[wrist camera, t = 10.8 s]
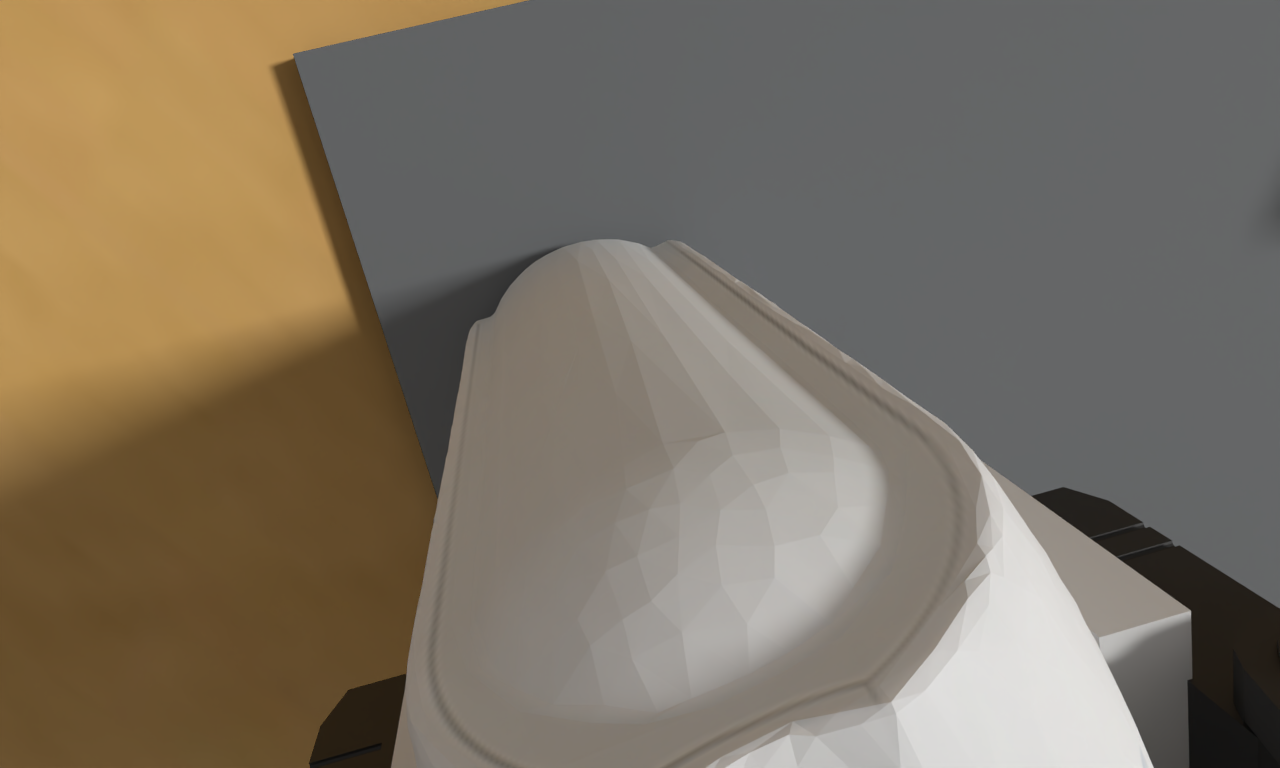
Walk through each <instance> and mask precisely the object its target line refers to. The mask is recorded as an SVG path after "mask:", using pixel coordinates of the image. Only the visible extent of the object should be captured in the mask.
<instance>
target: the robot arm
mask: <svg viewBox="0 0 1280 768" xmlns="http://www.w3.org/2000/svg"><path fill="white" fill-rule="evenodd" d="M981 462H982V463H983V464H984V466H985V467H986V468H987V469H988V471H989V472H990V473H991V475H992V476H993V477H994V479H995V480H996V481H997V483H998V484H999V485H1000V487H1001V488H1002V490H1003V491H1004V493H1005V494H1006V496H1007V497H1008V498H1009V500H1010V501H1011V503H1012V504H1013V506H1014V507H1015V509H1016V510H1017V511H1018V513H1019V514H1020V516H1021V517H1022V519H1023V520H1024V522H1025V523H1026V525H1027V527H1028V528H1029V529H1030V531H1031V532H1032V534H1033V535H1034V536H1035V538H1036V539H1037V541H1038V542H1039V544H1040V545H1041V546H1042V548H1043V549H1044V551H1045V552H1046V554H1047V555H1048V557H1049V559H1050V561H1051V563H1052V564H1053V566H1054V568H1055V570H1056V572H1057V573H1058V575H1059V577H1060V579H1061V580H1062V582H1063V583H1064V585H1065V587H1066V588H1067V590H1068V591H1069V593H1070V594H1071V596H1072V597H1073V599H1074V600H1075V602H1076V604H1077V606H1078V608H1079V610H1080V612H1081V614H1082V616H1083V619H1084V621H1085V623H1086V625H1087V626H1088V628H1089V630H1090V632H1091V633H1092V635H1093V637H1094V638H1095V640H1096V642H1097V644H1098V646H1099V649H1100V651H1101V653H1102V655H1103V657H1104V659H1105V661H1106V663H1107V665H1108V667H1109V669H1110V671H1111V673H1112V675H1113V677H1114V679H1115V681H1116V684H1117V686H1118V688H1119V690H1120V692H1121V694H1122V696H1123V698H1124V700H1125V702H1126V705H1127V707H1128V709H1129V711H1130V713H1131V715H1132V718H1133V720H1134V722H1135V724H1136V727H1137V729H1138V731H1139V734H1140V736H1141V739H1142V741H1143V743H1144V746H1145V748H1146V751H1147V753H1148V755H1149V758H1150V760H1151V762H1152V765H1153V767H1154V768H1280V608H1278V607H1277V606H1275V605H1273V604H1272V603H1270V602H1269V601H1267V600H1265V599H1264V598H1262V597H1261V596H1259V595H1258V594H1256V593H1254V592H1253V591H1251V590H1250V589H1248V588H1246V587H1245V586H1243V585H1242V584H1240V583H1239V582H1237V581H1235V580H1234V579H1232V578H1231V577H1229V576H1227V575H1226V574H1224V573H1223V572H1221V571H1220V570H1218V569H1216V568H1215V567H1213V566H1212V565H1210V564H1208V563H1207V562H1205V561H1204V560H1202V559H1201V558H1199V557H1197V556H1196V555H1194V554H1193V553H1191V552H1189V551H1188V550H1186V549H1185V548H1183V547H1182V546H1180V545H1179V546H1176V547H1175V546H1174V545H1173V542H1172V540H1170V539H1169V538H1167V537H1166V536H1164V535H1163V534H1161V533H1159V532H1158V531H1156V530H1155V529H1153V528H1151V527H1147V528H1145V526H1144V524H1143V522H1142V521H1140V520H1139V519H1137V518H1136V517H1134V516H1132V515H1131V514H1129V513H1128V512H1126V511H1125V510H1123V509H1121V508H1120V507H1118V506H1117V505H1115V504H1113V503H1112V502H1110V501H1108V500H1105V499H1102V498H1098V497H1095V496H1092V495H1089V494H1085V493H1082V492H1079V491H1075V490H1072V489H1069V488H1065V487H1061V488H1058V489H1054V490H1051V491H1047V492H1043V493H1040V494H1036V495H1033V496H1030V495H1029V494H1027V493H1026V492H1025V491H1023V490H1022V489H1020V488H1019V487H1018V486H1016V485H1015V484H1013V483H1012V482H1011V481H1009V480H1008V479H1006V478H1005V477H1004V476H1002V475H1001V474H999V473H998V472H997V471H995V470H994V469H992V468H991V467H990V466H988V465H987V464H985V463H984V462H983V461H981ZM405 685H406V674H404V675H400V676H397V677H393V678H389V679H386V680H382V681H379V682H375V683H372V684H368V685H364V686H361V687H357V688H354V689H350V690H348V691H347V693H346V694H345V695H344V697H343V698H342V699H341V700H340V702H339V703H338V704H337V706H336V707H335V708H334V710H333V711H332V712H331V713H330V715H329V716H328V717H327V719H326V720H325V721H324V722H323V724H322V725H321V726H320V730H319V733H318V736H317V739H316V743H315V746H314V749H313V752H312V756H311V759H310V762H309V764H310V768H417V765H416V760H415V754H414V750H413V746H412V742H411V738H410V734H409V730H408V725H407V709H406V693H405Z"/></svg>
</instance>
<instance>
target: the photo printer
mask: <svg viewBox="0 0 1280 768" xmlns="http://www.w3.org/2000/svg"><path fill="white" fill-rule="evenodd" d="M405 693H406V709H407V725H408V730H409V734H410V738H411V742H412V746H413V750H414V754H415V760H416V765H417V768H1154V767H1153V765H1152V762H1151V760H1150V758H1149V755H1148V753H1147V751H1146V748H1145V746H1144V743H1143V741H1142V739H1141V736H1140V734H1139V731H1138V729H1137V727H1136V724H1135V722H1134V720H1133V718H1132V715H1131V713H1130V711H1129V709H1128V707H1127V705H1126V702H1125V700H1124V698H1123V696H1122V694H1121V692H1120V690H1119V688H1118V686H1117V684H1116V681H1115V679H1114V677H1113V675H1112V673H1111V671H1110V669H1109V667H1108V665H1107V663H1106V661H1105V659H1104V657H1103V655H1102V653H1101V651H1100V649H1099V646H1098V644H1097V642H1096V640H1095V638H1094V637H1093V635H1092V633H1091V632H1090V630H1089V628H1088V626H1087V625H1086V623H1085V621H1084V619H1083V616H1082V614H1081V612H1080V610H1079V608H1078V606H1077V604H1076V602H1075V600H1074V599H1073V597H1072V596H1071V594H1070V593H1069V591H1068V590H1067V588H1066V587H1065V585H1064V583H1063V582H1062V580H1061V579H1060V577H1059V575H1058V573H1057V572H1056V570H1055V568H1054V566H1053V564H1052V563H1051V561H1050V559H1049V557H1048V555H1047V554H1046V552H1045V551H1044V549H1043V548H1042V546H1041V545H1040V544H1039V542H1038V541H1037V539H1036V538H1035V536H1034V535H1033V534H1032V532H1031V531H1030V529H1029V528H1028V527H1027V525H1026V523H1025V522H1024V520H1023V519H1022V517H1021V516H1020V514H1019V513H1018V511H1017V510H1016V509H1015V507H1014V506H1013V504H1012V503H1011V501H1010V500H1009V498H1008V497H1007V496H1006V494H1005V493H1004V491H1003V490H1002V488H1001V487H1000V485H999V484H998V483H997V481H996V480H995V479H994V477H993V476H992V475H991V473H990V472H989V471H988V469H987V468H986V467H985V466H984V464H983V463H982V462H981V460H980V459H979V458H978V457H977V455H976V454H975V453H974V451H973V450H972V449H971V448H970V447H969V446H968V445H967V444H966V443H965V442H964V441H963V440H962V439H961V438H960V437H959V436H958V435H957V434H956V433H955V432H954V431H953V430H952V429H951V428H949V427H948V426H947V425H946V424H945V423H944V422H943V421H941V420H940V419H938V418H937V417H935V416H934V415H932V414H931V413H929V412H928V411H926V410H925V409H924V408H922V407H921V406H919V405H918V404H916V403H915V402H913V401H912V400H910V399H909V398H907V397H906V396H905V395H903V394H902V393H900V392H899V391H898V390H896V389H895V388H894V387H892V386H891V385H889V384H888V383H887V382H885V381H884V380H883V379H881V378H880V377H878V376H877V375H875V374H874V373H873V372H871V371H870V370H868V369H867V368H865V367H864V366H863V365H861V364H860V363H858V362H857V361H855V360H854V359H853V358H851V357H849V356H848V355H846V354H845V353H843V352H842V351H840V350H838V349H837V348H836V347H834V346H833V345H832V344H830V343H829V342H828V341H826V340H825V339H824V338H822V337H821V336H819V335H818V334H816V333H815V332H813V331H812V330H811V329H809V328H808V327H806V326H805V325H803V324H802V323H800V322H799V321H798V320H796V319H795V318H793V317H792V316H791V315H789V314H788V313H786V312H785V311H783V310H782V309H780V308H779V307H778V306H777V305H776V304H774V303H773V302H771V301H769V300H768V299H766V298H765V297H764V296H762V295H761V294H760V293H758V292H756V291H755V290H753V289H751V288H750V287H749V286H748V285H746V284H744V283H743V282H741V281H739V280H738V279H736V278H735V277H733V276H732V275H731V274H729V273H728V272H726V271H725V270H723V269H722V268H720V267H719V266H718V265H716V264H715V263H713V262H712V261H711V260H709V259H707V258H706V257H705V256H703V255H701V254H700V253H698V252H696V251H695V250H693V249H692V248H690V247H689V246H687V245H686V244H684V243H682V242H680V241H674V240H667V241H665V242H663V243H661V244H659V245H657V246H655V247H652V248H650V247H647V246H644V245H642V244H639V243H635V242H629V241H624V240H619V239H599V240H590V241H583V242H579V243H575V244H572V245H568V246H565V247H562V248H560V249H557V250H555V251H553V252H551V253H549V254H547V255H545V256H544V257H542V258H540V259H539V260H537V261H535V262H534V263H533V264H531V265H530V266H529V267H528V268H526V269H525V270H524V271H523V272H522V273H521V274H520V275H519V276H518V277H517V278H516V280H515V281H514V282H513V283H512V284H511V285H510V286H509V288H508V289H507V291H506V292H505V294H504V295H503V297H502V298H501V300H500V303H499V305H498V307H497V309H496V311H495V313H494V314H493V315H492V316H491V317H488V318H485V319H481V320H478V321H476V322H475V323H474V325H473V326H472V327H471V329H470V331H469V334H468V339H467V342H466V347H465V353H464V361H463V369H462V373H461V381H460V386H459V391H458V396H457V401H456V406H455V412H454V419H453V425H452V428H451V435H450V440H449V447H448V453H447V456H446V461H445V467H444V472H443V476H442V481H441V487H440V492H439V497H438V502H437V508H436V513H435V517H434V523H433V528H432V532H431V537H430V543H429V549H428V555H427V560H426V566H425V571H424V577H423V584H422V588H421V593H420V597H419V602H418V606H417V611H416V616H415V622H414V627H413V633H412V639H411V645H410V651H409V657H408V663H407V674H406V685H405Z"/></svg>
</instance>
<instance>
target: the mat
mask: <svg viewBox="0 0 1280 768" xmlns="http://www.w3.org/2000/svg"><path fill="white" fill-rule="evenodd" d="M293 56H294V59H295V62H296V65H297V68H298V71H299V74H300V77H301V80H302V83H303V87H304V90H305V93H306V96H307V99H308V102H309V105H310V108H311V111H312V114H313V117H314V120H315V123H316V126H317V130H318V133H319V136H320V139H321V142H322V145H323V148H324V151H325V154H326V157H327V160H328V163H329V166H330V170H331V173H332V176H333V179H334V182H335V185H336V188H337V191H338V194H339V197H340V200H341V203H342V206H343V209H344V213H345V216H346V219H347V222H348V225H349V228H350V231H351V234H352V237H353V240H354V243H355V246H356V249H357V252H358V256H359V259H360V262H361V265H362V268H363V271H364V274H365V277H366V280H367V283H368V286H369V289H370V292H371V296H372V299H373V302H374V305H375V308H376V311H377V314H378V317H379V320H380V323H381V326H382V329H383V332H384V335H385V339H386V342H387V345H388V348H389V351H390V354H391V357H392V360H393V363H394V366H395V369H396V372H397V375H398V379H399V382H400V385H401V388H402V391H403V394H404V397H405V400H406V403H407V406H408V409H409V412H410V415H411V418H412V422H413V425H414V428H415V431H416V434H417V437H418V440H419V443H420V446H421V449H422V452H423V455H424V458H425V461H426V465H427V468H428V471H429V474H430V477H431V480H432V483H433V486H434V489H435V492H436V495H437V498H438V497H439V492H440V487H441V481H442V476H443V472H444V467H445V461H446V456H447V453H448V447H449V440H450V435H451V428H452V425H453V419H454V412H455V406H456V401H457V396H458V391H459V386H460V381H461V373H462V369H463V361H464V353H465V347H466V342H467V339H468V334H469V331H470V329H471V327H472V326H473V325H474V323H475V322H476V321H478V320H481V319H485V318H488V317H491V316H492V315H493V314H494V313H495V311H496V309H497V307H498V305H499V303H500V300H501V298H502V297H503V295H504V294H505V292H506V291H507V289H508V288H509V286H510V285H511V284H512V283H513V282H514V281H515V280H516V278H517V277H518V276H519V275H520V274H521V273H522V272H523V271H524V270H525V269H526V268H528V267H529V266H530V265H531V264H533V263H534V262H535V261H537V260H539V259H540V258H542V257H544V256H545V255H547V254H549V253H551V252H553V251H555V250H557V249H560V248H562V247H565V246H568V245H572V244H575V243H579V242H583V241H590V240H599V239H619V240H624V241H629V242H635V243H639V244H642V245H644V246H647V247H650V248H652V247H655V246H657V245H659V244H661V243H663V242H665V241H667V240H674V241H680V242H682V243H684V244H686V245H687V246H689V247H690V248H692V249H693V250H695V251H696V252H698V253H700V254H701V255H703V256H705V257H706V258H707V259H709V260H711V261H712V262H713V263H715V264H716V265H718V266H719V267H720V268H722V269H723V270H725V271H726V272H728V273H729V274H731V275H732V276H733V277H735V278H736V279H738V280H739V281H741V282H743V283H744V284H746V285H748V286H749V287H750V288H751V289H753V290H755V291H756V292H758V293H760V294H761V295H762V296H764V297H765V298H766V299H768V300H769V301H771V302H773V303H774V304H776V305H777V306H778V307H779V308H780V309H782V310H783V311H785V312H786V313H788V314H789V315H791V316H792V317H793V318H795V319H796V320H798V321H799V322H800V323H802V324H803V325H805V326H806V327H808V328H809V329H811V330H812V331H813V332H815V333H816V334H818V335H819V336H821V337H822V338H824V339H825V340H826V341H828V342H829V343H830V344H832V345H833V346H834V347H836V348H837V349H838V350H840V351H842V352H843V353H845V354H846V355H848V356H849V357H851V358H853V359H854V360H855V361H857V362H858V363H860V364H861V365H863V366H864V367H865V368H867V369H868V370H870V371H871V372H873V373H874V374H875V375H877V376H878V377H880V378H881V379H883V380H884V381H885V382H887V383H888V384H889V385H891V386H892V387H894V388H895V389H896V390H898V391H899V392H900V393H902V394H903V395H905V396H906V397H907V398H909V399H910V400H912V401H913V402H915V403H916V404H918V405H919V406H921V407H922V408H924V409H925V410H926V411H928V412H929V413H931V414H932V415H934V416H935V417H937V418H938V419H940V420H941V421H943V422H944V423H945V424H946V425H947V426H948V427H949V428H951V429H952V430H953V431H954V432H955V433H956V434H957V435H958V436H959V437H960V438H961V439H962V440H963V441H964V442H965V443H966V444H967V445H968V446H969V447H970V448H971V449H972V450H973V451H974V453H975V454H976V455H977V457H978V458H979V459H980V460H981V461H983V462H984V463H985V464H987V465H988V466H990V467H991V468H992V469H994V470H995V471H997V472H998V473H999V474H1001V475H1002V476H1004V477H1005V478H1006V479H1008V480H1009V481H1011V482H1012V483H1013V484H1015V485H1016V486H1018V487H1019V488H1020V489H1022V490H1023V491H1025V492H1026V493H1027V494H1029V495H1030V496H1033V495H1036V494H1040V493H1043V492H1047V491H1051V490H1054V489H1058V488H1061V487H1065V488H1069V489H1072V490H1075V491H1079V492H1082V493H1085V494H1089V495H1092V496H1095V497H1098V498H1102V499H1105V500H1108V501H1110V502H1112V503H1113V504H1115V505H1117V506H1118V507H1120V508H1121V509H1123V510H1125V511H1126V512H1128V513H1129V514H1131V515H1132V516H1134V517H1136V518H1137V519H1139V520H1140V521H1142V522H1143V524H1144V526H1145V528H1147V527H1151V528H1153V529H1155V530H1156V531H1158V532H1159V533H1161V534H1163V535H1164V536H1166V537H1167V538H1169V539H1170V540H1172V542H1173V545H1174V546H1175V547H1176V546H1179V545H1180V546H1182V547H1183V548H1185V549H1186V550H1188V551H1189V552H1191V553H1193V554H1194V555H1196V556H1197V557H1199V558H1201V559H1202V560H1204V561H1205V562H1207V563H1208V564H1210V565H1212V566H1213V567H1215V568H1216V569H1218V570H1220V571H1221V572H1223V573H1224V574H1226V575H1227V576H1229V577H1231V578H1232V579H1234V580H1235V581H1237V582H1239V583H1240V584H1242V585H1243V586H1245V587H1246V588H1248V589H1250V590H1251V591H1253V592H1254V593H1256V594H1258V595H1259V596H1261V597H1262V598H1264V599H1265V600H1267V601H1269V602H1270V603H1272V604H1273V605H1275V606H1277V607H1278V608H1280V0H529V1H524V2H520V3H516V4H511V5H507V6H502V7H498V8H493V9H489V10H485V11H480V12H476V13H471V14H467V15H462V16H458V17H454V18H449V19H445V20H440V21H436V22H432V23H427V24H423V25H418V26H414V27H409V28H405V29H401V30H396V31H392V32H387V33H383V34H378V35H374V36H370V37H365V38H361V39H356V40H352V41H348V42H343V43H339V44H334V45H330V46H325V47H321V48H317V49H312V50H308V51H303V52H299V53H294V54H293Z"/></svg>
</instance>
